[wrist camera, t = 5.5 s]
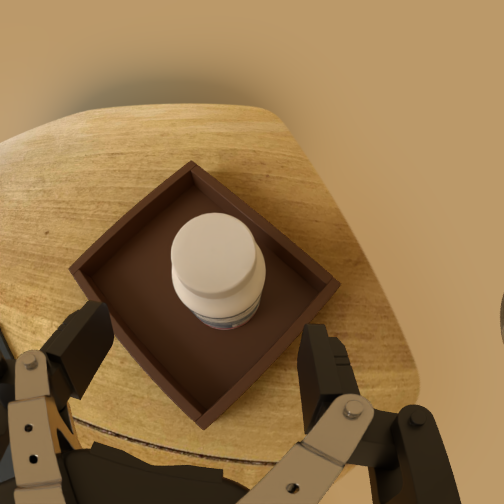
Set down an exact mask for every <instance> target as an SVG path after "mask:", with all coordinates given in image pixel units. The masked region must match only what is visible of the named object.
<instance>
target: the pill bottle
mask: <svg viewBox="0 0 504 504" xmlns="http://www.w3.org/2000/svg"><path fill="white" fill-rule="evenodd" d="M171 261H172V280H173V285H174V288H175V291H176V293H177V295H178V296H179V298H180V299H181V301H182V302H183V303H184V304H185V305H186V306H187V307H188V308H189V309H190V310H191V311H192V313H194V314H195V316H196V317H197V318H198V319H199V320H200V321H202V322H203V323H204V324H206V325H208V326H210V327H212V328H215V329H221V330H229V329H234V328H238V327H240V326H242V325H244V324H245V323H247V322H248V321H249V320H250V319H251V318H252V317H253V316H254V314H255V313H256V311H257V309H258V307H259V304H260V299H261V293H262V290H263V286H264V282H265V274H266V269H265V261H264V257H263V254H262V252H261V250H260V248H259V246H258V245H257V244H256V242H255V240H254V237H253V235H252V233H251V231H250V230H249V229H248V227H247V226H246V225H245V224H244V223H243V222H241V221H240V220H239V219H237V218H235V217H233V216H230V215H227V214H223V213H207V214H203V215H200V216H198V217H195V218H193V219H191V220H190V221H189V222H187V223H186V224H185V225H184V226H183V227H182V228H181V229H180V230H179V232H178V233H177V235H176V236H175V239H174V241H173V244H172V247H171Z"/></svg>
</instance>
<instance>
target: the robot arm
mask: <svg viewBox="0 0 504 504" xmlns="http://www.w3.org/2000/svg"><path fill="white" fill-rule="evenodd" d="M113 341H114V331H113V327H112V323H111V318H110V314H109V309H108V306H107V304H106V303H105V302H99V301H93V300H89V301H87V302H86V304H85V305H84V306H83V307H82V308H81V309H80V310H77V311H75V312H74V313H72V314H70V315H69V316H68V317H67V318H66V319H65V320H64V322H63V324H61V325H60V326H59V327H58V330H56V331H55V332H54V333H53V334H52V336H51V337H50V338H49V339H48V340H47V342H46V343H45V344H44V345H43V347H42V348H41V349H40V350H29V351H26V352H24V353H23V354H21V355H20V356H19V357H18V358H17V360H16V359H5V358H4V356H3V354H2V352H1V350H0V462H1V460H2V458H3V455H4V453H5V451H6V449H7V447H8V445H9V443H10V446H11V454H12V461H13V468H14V474H15V477H13V478H10V479H8V480H6V481H3V482H1V483H0V504H318V503H319V501H320V500H321V499H322V498H323V496H324V495H325V494H326V492H327V491H328V490H329V488H330V487H331V485H332V484H333V483H334V481H335V480H336V478H337V477H338V476H339V474H340V473H341V471H342V470H343V468H344V466H345V464H346V463H349V464H355V465H361V466H368V471H369V478H370V485H371V493H372V501H373V504H461V501H460V497H459V493H458V490H457V486H456V482H455V479H454V475H453V472H452V469H451V466H450V462H449V459H448V456H447V453H446V450H445V447H444V444H443V441H442V438H441V435H440V433H439V430H438V427H437V425H436V422H435V419H434V417H433V415H432V414H431V412H430V411H429V410H427V409H426V408H425V407H422V406H420V405H408V406H405V407H404V408H402V409H401V410H400V412H399V413H391V412H385V411H380V410H377V409H374V408H373V406H372V404H371V403H370V402H369V401H368V400H367V399H366V398H364V397H362V396H361V395H360V392H359V389H358V386H357V383H356V379H355V376H354V373H353V370H352V367H351V366H350V361H349V358H348V354H347V351H346V348H345V346H344V345H343V344H342V342H341V341H340V340H339V339H338V338H337V337H328V334H327V330H326V327H325V325H324V324H305V325H304V328H303V333H302V338H301V342H300V347H299V352H298V358H297V369H298V377H299V386H300V394H301V403H302V412H303V421H304V431H305V434H307V436H306V437H305V438H304V439H303V440H302V441H301V442H297V443H296V444H295V445H294V446H293V447H292V448H291V449H290V450H289V451H288V452H287V453H286V454H285V455H284V456H283V458H282V459H281V460H280V461H279V462H278V463H277V464H276V465H275V466H274V467H273V468H272V469H271V470H270V471H269V472H268V473H267V474H266V475H265V476H264V477H263V478H262V479H261V480H260V481H259V482H258V483H257V484H256V485H255V486H254V487H253V488H252V489H251V490H249V489H248V488H247V487H245V486H243V485H241V484H240V483H238V482H235V481H233V480H230V479H228V478H225V477H223V469H214V468H206V467H199V466H192V465H174V466H154V465H150V464H148V463H146V462H144V461H142V460H140V459H138V458H136V457H134V456H132V455H130V454H128V453H126V452H125V451H123V450H120V449H116V448H113V447H110V446H107V445H104V444H101V443H98V442H95V441H94V443H93V445H92V447H91V449H83V448H82V446H81V444H80V442H79V440H78V436H77V433H76V429H75V425H74V421H73V417H72V413H71V409H70V405H69V403H68V400H69V398H70V397H73V398H76V399H79V400H81V398H82V396H83V395H84V393H85V391H86V389H87V387H88V386H89V384H90V382H91V380H92V379H93V377H94V375H95V373H96V372H97V370H98V368H99V367H100V365H101V363H102V362H103V360H104V358H105V356H106V355H107V353H108V352H109V350H110V348H111V347H112V344H113Z"/></svg>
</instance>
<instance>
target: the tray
mask: <svg viewBox="0 0 504 504" xmlns="http://www.w3.org/2000/svg"><path fill="white" fill-rule="evenodd" d="M207 213H223V214H227V215H230V216H233V217H235V218H237V219H239V220H240V221H241V222H243V223H244V224H245V225H246V226H247V227H248V229H249V230H250V231H251V233H252V235H253V237H254V240H255V242H256V244H257V245H258V246H259V248H260V250H261V252H262V254H263V257H264V261H265V269H266V274H265V282H264V286H263V290H262V293H261V299H260V304H259V307H258V309H257V311H256V313H255V314H254V316H253V317H252V318H251V319H250V320H249V321H248V322H247V323H245V324H244V325H242V326H240V327H238V328H234V329H229V330H221V329H215V328H212V327H210V326H208V325H206V324H204V323H203V322H202V321H200V320H199V319H198V318H197V317H196V316H195V314H194V313H192V311H191V310H190V309H189V308H188V307H187V306H186V305H185V304H184V303H183V302H182V301H181V299H180V298H179V296H178V295H177V293H176V291H175V288H174V285H173V280H172V261H171V247H172V244H173V241H174V239H175V236H176V235H177V233H178V232H179V230H180V229H181V228H182V227H183V226H184V225H185V224H186V223H187V222H189V221H190V220H191V219H193V218H195V217H198V216H200V215H203V214H207ZM69 271H70V272H71V274H72V275H73V277H74V279H75V280H76V282H77V283H78V285H79V286H80V288H81V289H82V291H83V292H84V294H85V295H86V297H87V298H88V300H93V301H99V302H105V303H106V304H107V306H108V309H109V314H110V318H111V323H112V327H113V331H114V335H115V336H116V337H117V339H118V340H119V341H120V342H121V344H122V345H123V346H124V347H125V349H126V350H127V351H128V352H129V353H130V355H131V356H132V357H133V358H134V359H135V361H136V362H137V363H138V364H139V365H140V366H141V367H142V369H143V370H144V371H145V372H146V373H147V374H148V375H149V376H150V378H151V379H152V380H153V381H154V382H155V383H156V384H157V385H158V386H159V387H160V388H161V389H162V391H163V392H164V393H165V394H166V395H167V396H168V397H169V398H170V399H171V400H172V401H173V402H174V403H175V404H176V405H177V406H178V407H179V408H180V409H181V410H182V411H183V412H184V413H185V414H186V415H187V416H188V417H190V418H191V419H192V420H193V421H194V422H195V423H196V424H197V425H198V426H199V427H200V428H201V429H202V430H205V429H206V428H207V427H208V426H210V425H211V424H212V423H213V422H214V421H215V420H216V419H217V418H218V417H219V416H220V415H221V414H222V413H224V412H225V411H226V410H227V409H228V408H229V407H230V406H231V405H232V404H233V403H234V402H235V401H236V400H237V399H238V398H239V397H240V396H241V395H242V394H243V393H244V392H245V391H246V390H247V389H248V388H249V387H250V386H251V385H252V384H253V383H254V382H255V381H256V380H257V379H258V378H259V377H260V376H261V375H262V374H263V373H264V372H265V371H266V370H267V369H268V368H269V367H270V366H271V365H272V364H273V362H274V361H275V360H276V359H277V358H278V357H279V356H280V355H281V354H282V353H283V352H284V351H285V350H286V348H287V347H288V346H289V345H290V344H291V343H292V342H293V341H294V340H295V339H296V337H297V336H298V335H299V334H300V333H301V332H302V331H303V328H304V325H305V324H309V323H310V321H311V320H312V319H313V318H314V317H315V316H316V314H317V313H318V312H319V311H320V310H321V309H322V307H323V306H324V305H325V304H326V303H327V301H328V300H329V299H330V298H331V297H332V295H333V294H334V293H335V292H336V290H337V289H338V288H339V287H340V285H341V283H340V282H339V281H337V280H336V279H335V278H334V277H333V276H332V275H331V274H330V273H328V272H327V271H326V270H325V269H324V268H323V267H321V266H320V265H319V264H318V263H317V262H316V261H314V260H313V259H312V258H311V257H310V256H309V255H307V254H306V253H305V252H304V251H303V250H302V249H300V248H299V247H298V246H297V245H296V244H294V243H293V242H292V241H291V240H290V239H288V238H287V237H286V236H285V235H284V234H282V233H281V232H280V231H279V230H278V229H276V228H275V227H274V226H273V225H272V224H270V223H269V222H268V221H267V220H266V219H264V218H263V217H262V216H261V215H259V214H258V213H257V212H256V211H255V210H253V209H252V208H251V207H250V206H248V205H247V204H246V203H245V202H244V201H242V200H241V199H240V198H239V197H237V196H236V195H235V194H234V193H232V192H231V191H230V190H229V189H227V188H226V187H225V186H224V185H222V184H221V183H220V182H219V181H217V180H216V179H215V178H214V177H212V176H211V175H210V174H208V173H207V172H206V171H205V170H203V169H202V168H201V167H200V166H198V165H197V164H196V163H194V162H193V161H192V160H191V161H190V162H188V163H187V164H186V165H184V166H183V167H182V168H180V169H179V170H178V171H177V172H175V173H174V174H173V175H172V176H170V177H169V178H168V179H166V180H165V181H164V182H163V183H162V184H160V185H159V186H158V187H157V188H155V189H154V190H153V191H152V192H151V193H149V194H148V195H147V196H146V197H145V198H143V199H142V200H141V201H140V202H139V203H138V204H136V205H135V206H134V207H133V208H132V209H131V210H129V211H128V212H127V213H126V214H125V215H124V216H123V217H122V218H120V219H119V220H118V221H117V222H116V223H115V224H114V225H113V226H112V227H111V228H109V229H108V230H107V231H106V232H105V233H104V234H103V235H102V236H101V237H100V238H99V239H98V240H97V241H96V242H95V243H94V244H93V245H92V246H91V247H89V248H88V249H87V250H86V251H85V252H84V253H83V254H82V255H81V256H80V257H79V258H78V259H77V260H76V261H75V262H74V263H73V265H72V266H71V267H70V268H69Z"/></svg>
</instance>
